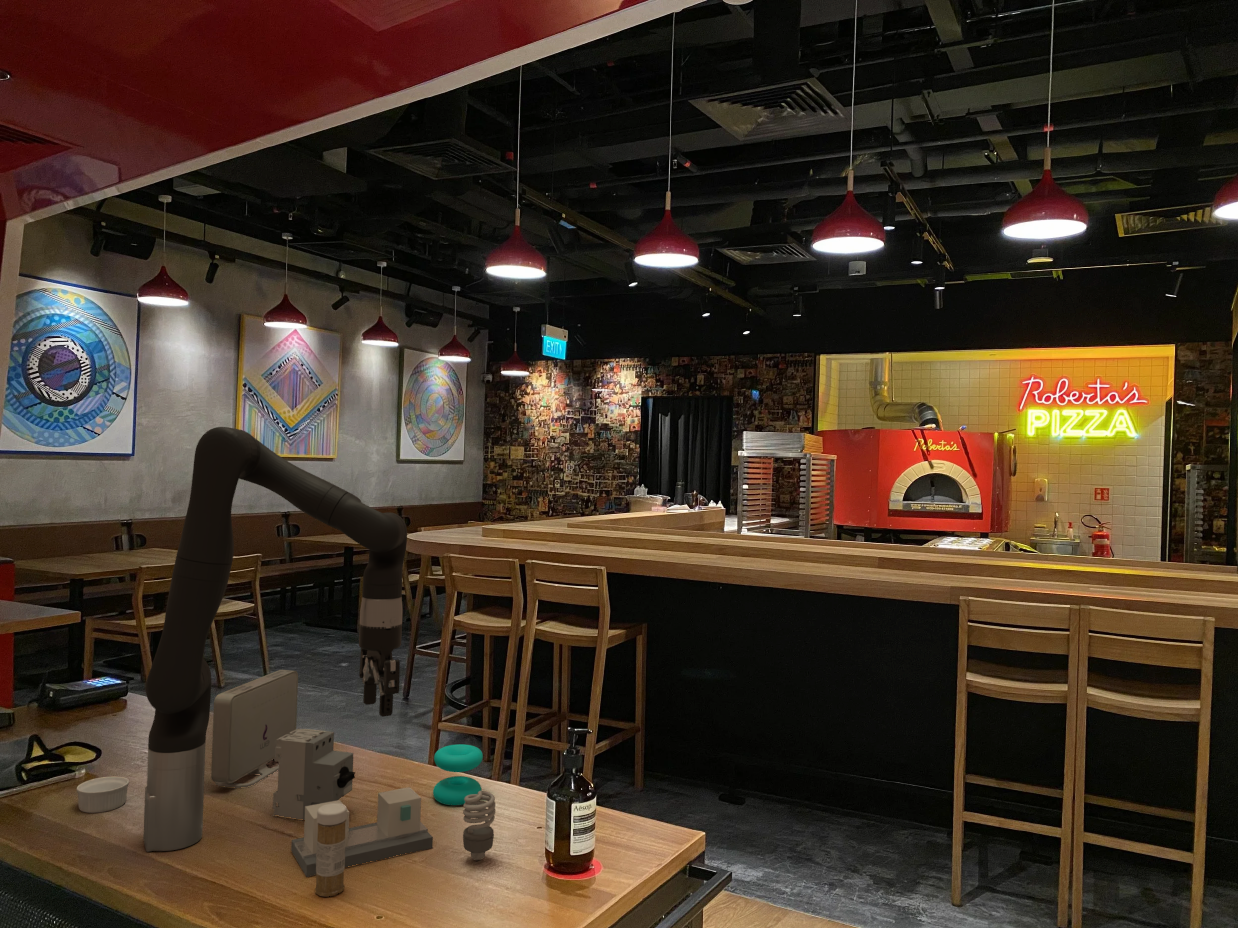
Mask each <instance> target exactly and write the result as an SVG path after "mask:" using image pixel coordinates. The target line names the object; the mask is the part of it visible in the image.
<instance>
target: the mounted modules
mask: <svg viewBox="0 0 1238 928" xmlns="http://www.w3.org/2000/svg"><path fill="white" fill-rule="evenodd" d="M331 803H339V804H343V802H342V801H341V799H339V800H337V801H332V802H326V803H321V804H316V805H310V806H305V821H304V826H303V837H304V842H305V843H306V845H307V846H308V848H309V849H310V851H311V853H312V854H316V852H317V837H318V822H317V811H318V809H319V808H320V807H321V806H323V805H326V804H331ZM343 805H344V804H343ZM421 810H422V797H421V796H420V794H418V793H417V792H415V790H414V789H412V788H411V787H410V786H408V787H402V788H397V789H391V790H387V791H386V790H385V791H381V792H378V794H377V815H376V817H377V819H376V822H377V826H378V827H379V828H380V829H381V831H382V832H383V833H384V834H385V835H386V836H387V838H389V837H394V836H398V835H403V834H408V833H412V832H417V831H420V822H421V817H422V816H421V812H422V811H421ZM349 828H350V811H349V809H347V818H346V822H345V847H348V837H349Z"/></svg>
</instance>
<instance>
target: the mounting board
mask: <svg viewBox="0 0 1238 928" xmlns="http://www.w3.org/2000/svg"><path fill="white" fill-rule="evenodd" d="M372 826H377V821H376V822H373V823H366V824H363V825H357V826H353V827H349V831H353V830H358V829H362V828H367V827H372ZM290 841H291V844H290V851H292V852H291V853H293V854H292V855H293V857H294V856H295V857H294V858H296V859H295V860H296V862H297V863H298V866H299V867H300V868H301V871H302V872H303V874H304V876H305V877H306V878H309V877H313V876H316V856H315V857H311V858H306V859H303V858H302V856H301V855H300V853H299V851H298V850H297V848H296V846H295V842H300V841H304V836H303V837H298V838H294V839H291V840H290ZM433 846H434V836H433V835H432V834H431V833H430V832H429V831H428V832H425V833H420V834H416V835H411V836H407V837H402V838H397V839H393V840H388V841H384V842H379V843H375V844H370V845H365V846H361V847H356V848H352V849H347V850H345V867H348V866H352V865H356V864H361V865H363V864H362V863H366V862H370V861H374V862H377V861H376V860H379V861H382V860H381V859H383V860H386V859H385V858H387V859H390V858H389V857H392V858H394V857H393V856H396V855H400V854H401V855H400V856H403V855H402V854H405V853H409V854H411V853H410V852H413V853H417V852H416V851H418V852H421V851H420V850H422V851H425V850H426V851H427V850H430V849H433ZM405 855H406V854H405ZM396 857H397V856H396ZM370 863H371V862H370ZM366 864H367V863H366ZM348 868H349V867H348Z"/></svg>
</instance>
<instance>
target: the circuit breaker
mask: <svg viewBox="0 0 1238 928" xmlns="http://www.w3.org/2000/svg"><path fill="white" fill-rule="evenodd" d="M276 741H277V747H275V760H274V762H278V765H279V768H278V771H277V772H278V774H277V790H276V791H274V792H272V794H273V795H272V810H273V814H272V817H273V816H275V815H279V816H284V817H291V818H296V819H303V820H305V806H310V805H316V804H321V803H326V802H332V801H337V800H341V799H342V798H343V797H344V796H346V795H347V794H348V793H350V792H351V791H353V781H354V780H353V779H355V778H356V776H355V774H356V771H354V752H351V751H350V752H349V751H341V750H335V749H334V741H335V732H334V731H330V730H329V731H327V730H318V729H311V728H310V729H309V728H296V730H294V731H292V732H290V733H289V735H288V734H286V735H284V736H282V737H280V738H278V739H276ZM278 754H281V755H280V757H278ZM275 817H276V816H275Z"/></svg>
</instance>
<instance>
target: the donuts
mask: <svg viewBox="0 0 1238 928" xmlns="http://www.w3.org/2000/svg"><path fill="white" fill-rule="evenodd" d="M483 755H484V754H483V752H482V750H481V749H480V748H479V747H477V746H474V745H472V744H462V743H461V744H459V743H458V744H449V745H446V746H443V747H441V748H439V749H438V750H437V751H436V752H435V753H434V756H433V760H434V763H435V765H436V767H438V768H439V769H440V770H442V771H445V772H451V773H463V772H468V771H471V770H474V769H475V768H477V767H479V766H480V764H481V763H482V761H483V758H484V756H483ZM482 788H483V787H482V785H481V784H480V782H479V781H477V780H476V779H474V778H472V777H469V776H465V775H456V776H455V775H454V776H449V777H446V778H443V779H441V780H440V781H438V782H437V783H436V784H435V785H434V787H433V790H432V795H433V798H434V799H435V800H436V801H437V802H438V803H439V804H442V805H447V806H464V803H465V800H464V799H465V797H466V796H467V795H472V794H478V792H479V791H483V789H482Z"/></svg>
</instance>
